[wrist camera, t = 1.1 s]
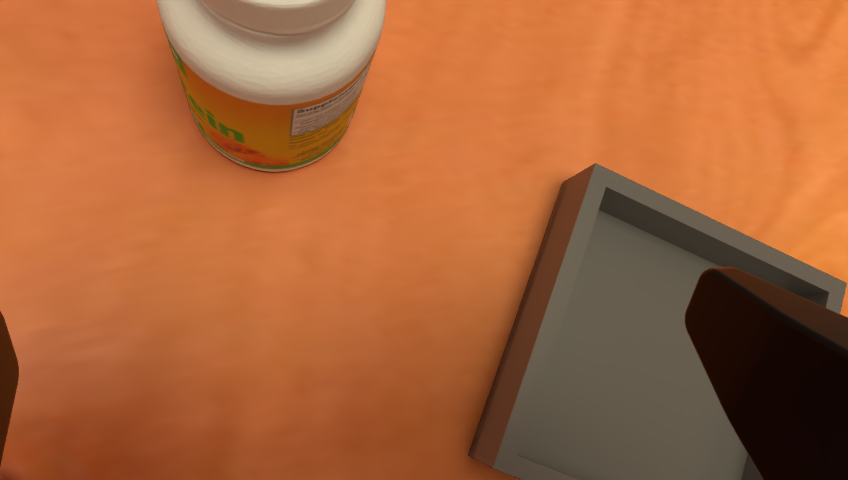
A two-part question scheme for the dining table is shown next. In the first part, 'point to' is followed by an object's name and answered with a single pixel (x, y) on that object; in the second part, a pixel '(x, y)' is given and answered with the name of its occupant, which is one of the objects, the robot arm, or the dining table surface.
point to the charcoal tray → (623, 342)
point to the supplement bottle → (273, 73)
